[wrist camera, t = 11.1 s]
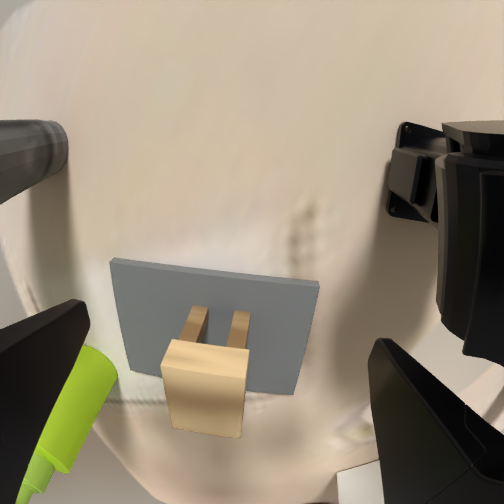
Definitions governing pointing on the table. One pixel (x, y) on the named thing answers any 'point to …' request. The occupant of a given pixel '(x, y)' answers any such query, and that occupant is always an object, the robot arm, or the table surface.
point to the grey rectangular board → (215, 316)
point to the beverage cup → (29, 154)
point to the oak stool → (207, 377)
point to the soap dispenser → (69, 420)
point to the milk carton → (361, 485)
